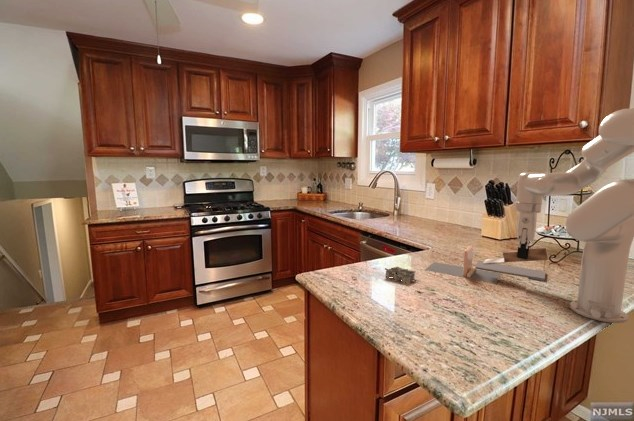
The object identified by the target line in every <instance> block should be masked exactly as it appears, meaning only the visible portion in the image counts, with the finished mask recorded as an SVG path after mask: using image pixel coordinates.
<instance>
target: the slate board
mask: <svg viewBox="0 0 634 421" xmlns="http://www.w3.org/2000/svg"><path fill="white" fill-rule="evenodd" d="M483 262H484V260H483V261H481V260H478V261H477V263H476V264H475V265H474V266H473V267H476V269H477V270H483V271H489V272H495V273H500V274H506V275H507V274H508V275H513V276H518V277H526V278H528V279H530V280H535V281H542V282H545V281H546V271H544V270H538V269H534V268H533V269H531V268H525V267H519V266H515V265H509V264H487V265H483Z"/></svg>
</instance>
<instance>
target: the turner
mask: <svg viewBox="0 0 634 421" xmlns="http://www.w3.org/2000/svg"><path fill="white" fill-rule="evenodd" d="M517 252H518V249H515V250H504V251H503V252H502V256H503V257H496V258H486V259H484V260H483V265H487V264H502V265H505V263H515V262H533V261H535V262H536V261H537V262H538V261H548V260H549V259H548V258H549V257H548V252H547V249H546V247H543V248H542V247H541V248H529V251H528V259H521V258H517Z"/></svg>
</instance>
